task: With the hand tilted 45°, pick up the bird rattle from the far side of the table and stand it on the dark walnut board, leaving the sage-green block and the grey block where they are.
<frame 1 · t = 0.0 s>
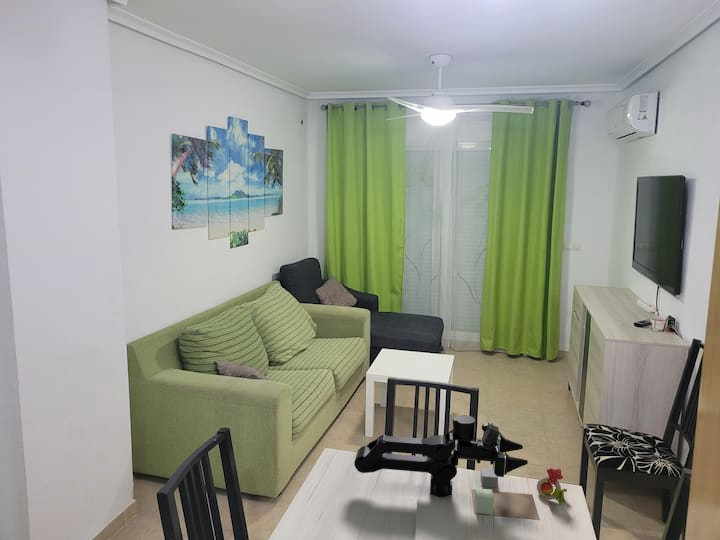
hand: (525, 454, 168), 17 cm above the table, tool horizontal, fingers open, 9 cm apart
grey block: (488, 486, 180), on the table
sage block: (483, 508, 165), point 1 cm above the table, touching walnut board
walnut board: (503, 508, 168), on the table
bird rattle: (551, 501, 173), on the table
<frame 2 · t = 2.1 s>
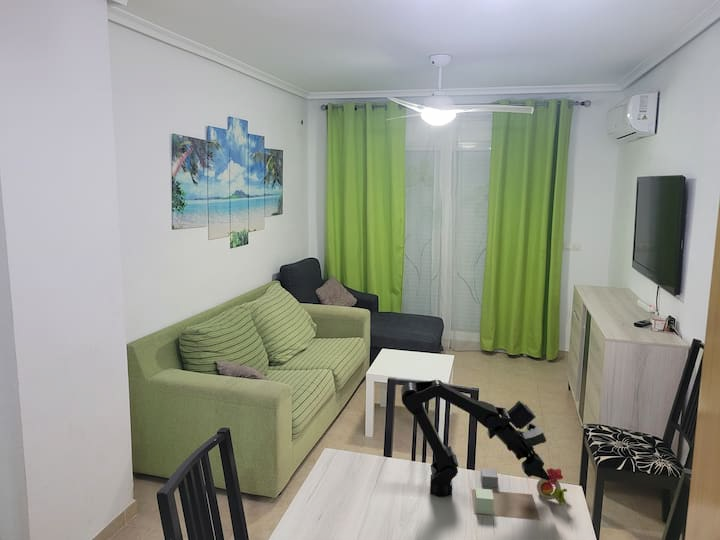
hand: (544, 470, 171), 10 cm above the table, tool tilted 45°, fingers open, 9 cm apart
nothing on the table moved.
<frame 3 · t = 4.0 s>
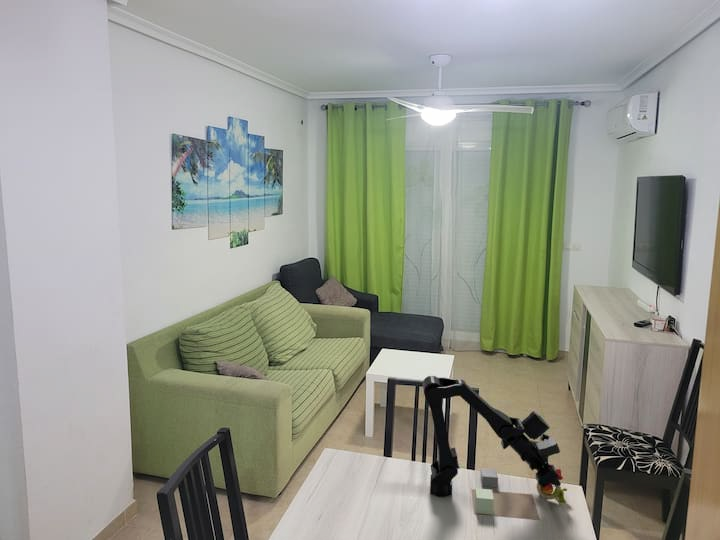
hand: (557, 481, 171), 7 cm above the table, tool tilted 45°, fingers closed on bird rattle, 4 cm apart
bird rattle: (551, 500, 173), on the table, touching gripper
everything else where it was.
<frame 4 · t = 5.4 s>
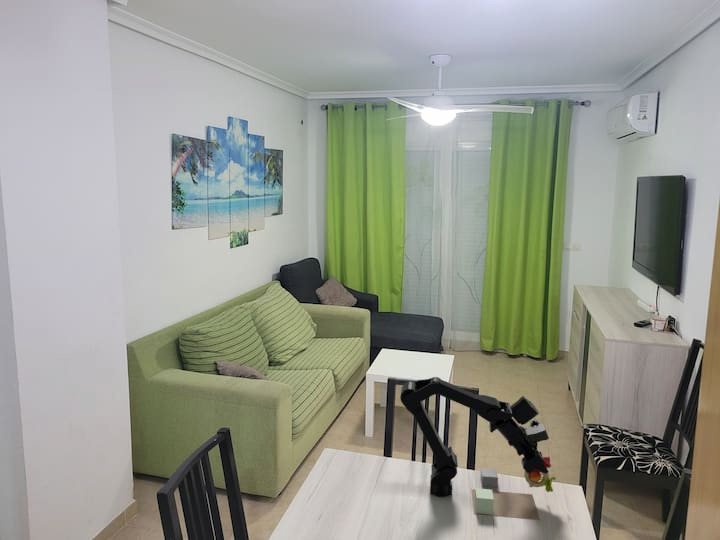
hand: (545, 469, 168), 12 cm above the table, tool tilted 45°, fingers closed on bird rattle, 4 cm apart
bird rattle: (539, 488, 170), point 5 cm above the table, touching gripper
everything else where it was.
when the fingers open (9 cm above the table, at t = 6.8 s): bird rattle stays where it is, resting on walnut board.
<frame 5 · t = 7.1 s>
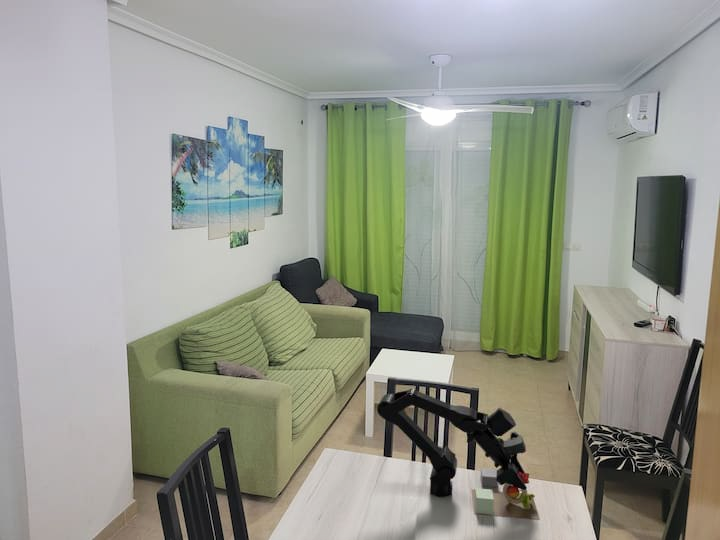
hand: (525, 482, 166), 9 cm above the table, tool tilted 45°, fingers open, 7 cm apart
bird rattle: (517, 505, 168), point 1 cm above the table, touching walnut board
everything else where it was.
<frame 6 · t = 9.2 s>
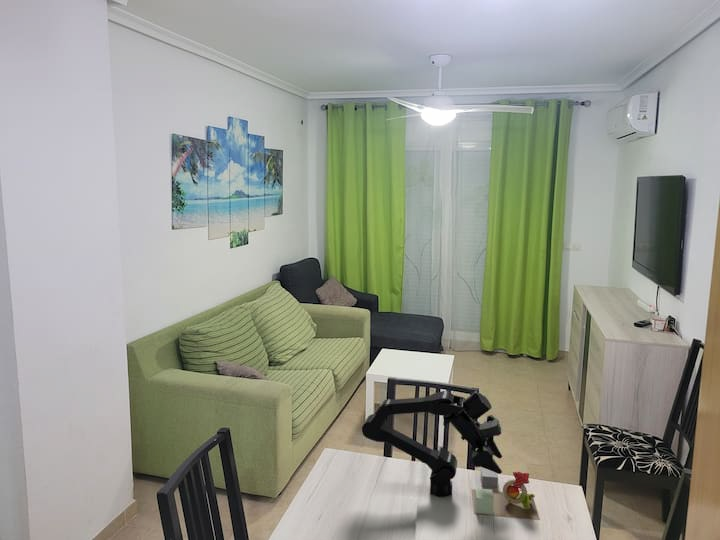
hand: (500, 465, 167), 14 cm above the table, tool tilted 45°, fingers open, 9 cm apart
nothing on the table moved.
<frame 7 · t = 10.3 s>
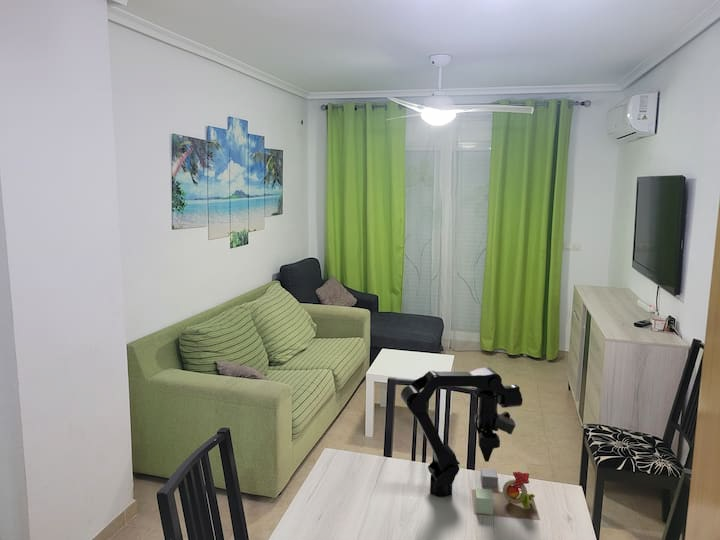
hand: (485, 453, 175), 13 cm above the table, tool pointing down, fingers open, 9 cm apart
nothing on the table moved.
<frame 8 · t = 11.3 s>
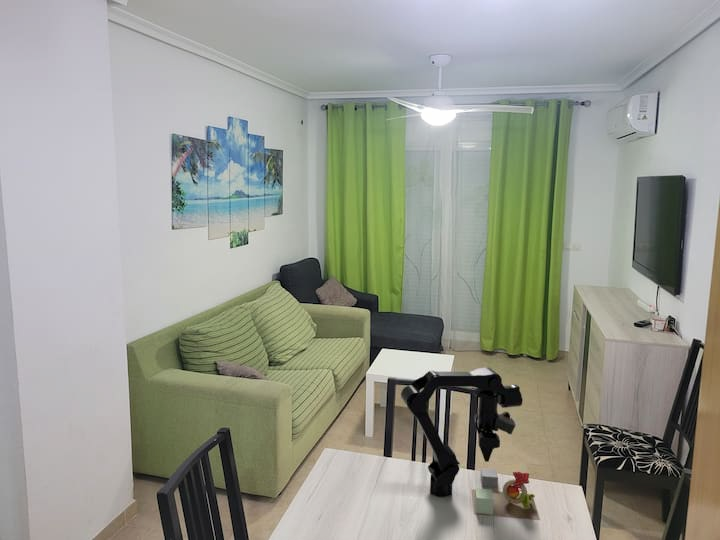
hand: (485, 453, 175), 13 cm above the table, tool pointing down, fingers open, 9 cm apart
nothing on the table moved.
at the end: bird rattle inside the target area on the walnut board (0.6 cm from its centre), point 1.3 cm above the walnut board's base; bird rattle tilted 0°; sage block moved 0.0 cm from its start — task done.
